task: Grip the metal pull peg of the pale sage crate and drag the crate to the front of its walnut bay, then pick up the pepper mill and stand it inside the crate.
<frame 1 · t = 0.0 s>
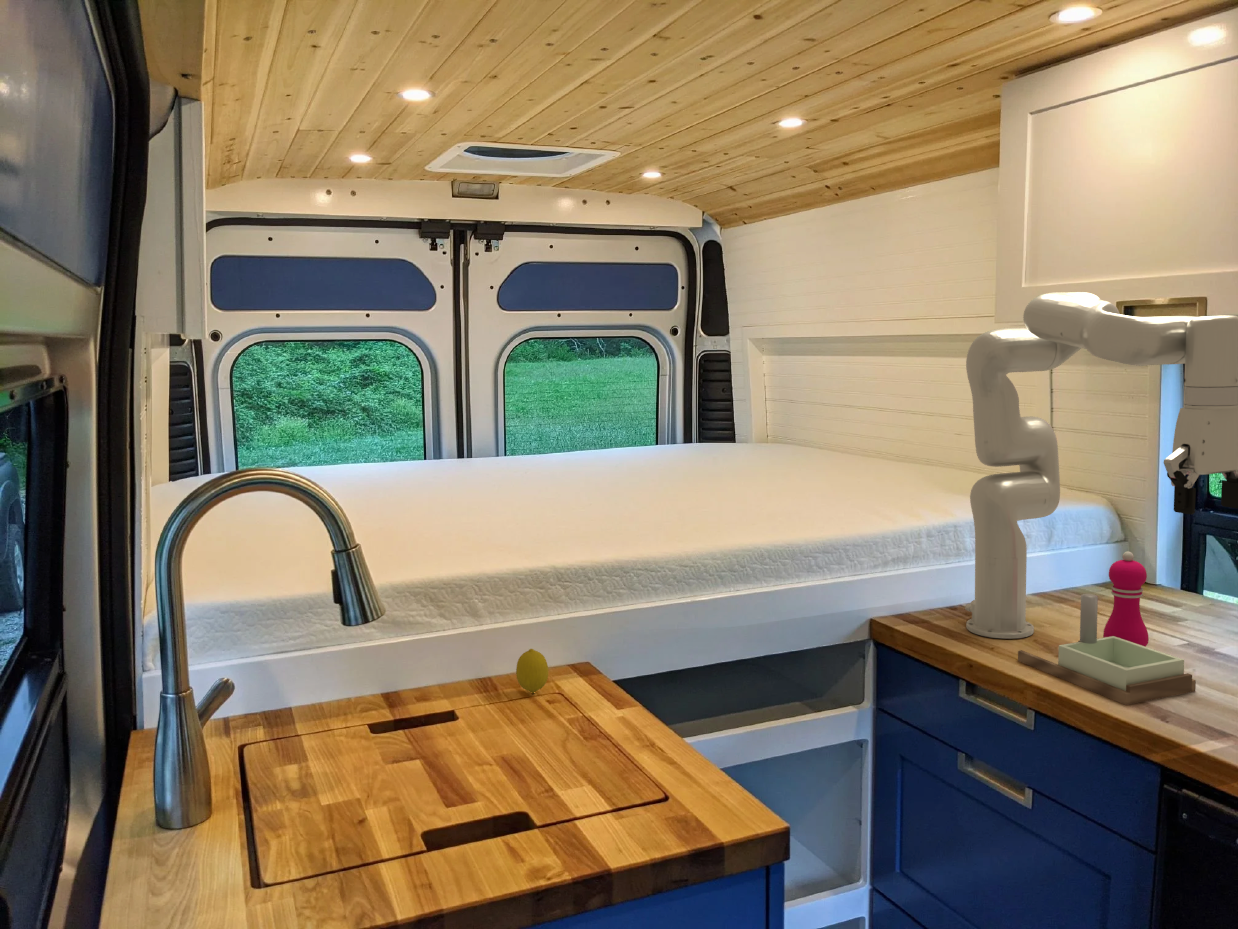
hand: (1208, 510, 148), 31 cm above the worktop, tool pointing down, fingers open, 9 cm apart
pepper mill: (1124, 661, 174), on the worktop
crate: (1117, 642, 160), point 8 cm above the worktop, slide at 8.0 cm
lemon: (533, 694, 168), on the worktop
bay: (1101, 681, 164), on the worktop
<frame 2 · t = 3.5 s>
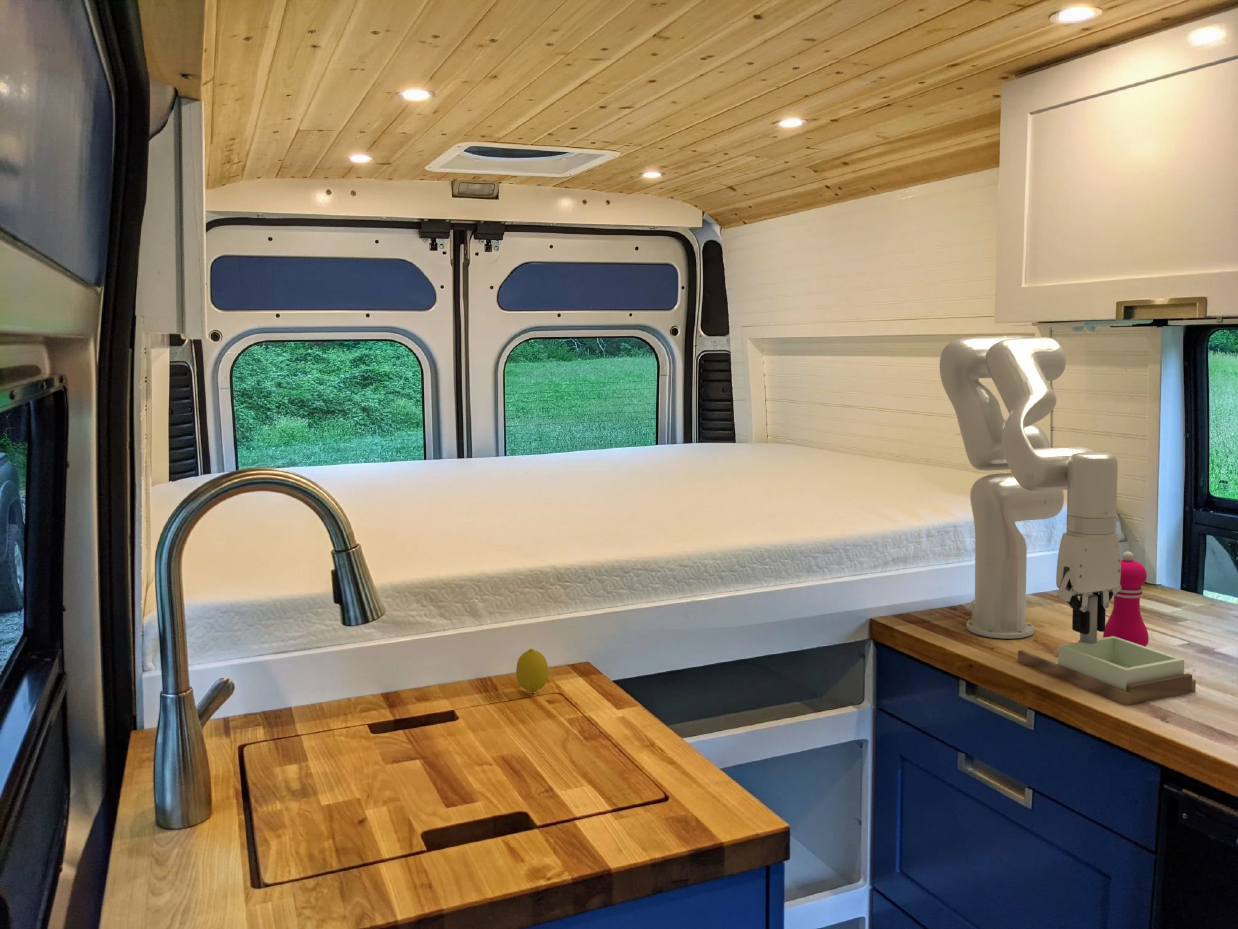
hand: (1088, 630, 166), 8 cm above the worktop, tool pointing down, fingers closed on crate, 2 cm apart
crate: (1117, 642, 160), point 8 cm above the worktop, slide at 8.0 cm, touching gripper
everything else where it was.
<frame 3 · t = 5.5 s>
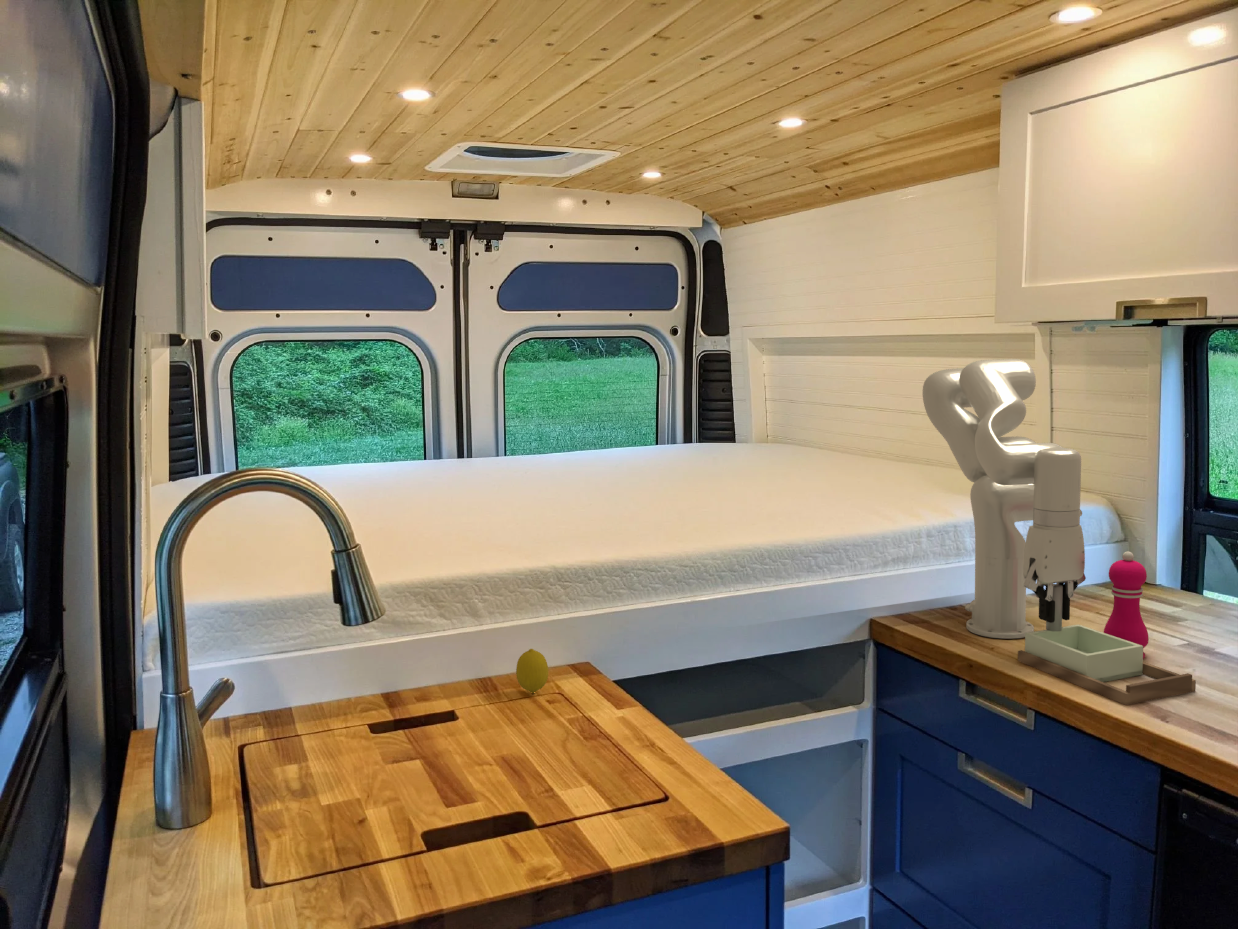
hand: (1054, 618, 173), 8 cm above the worktop, tool pointing down, fingers closed on crate, 2 cm apart
crate: (1080, 630, 167), point 8 cm above the worktop, slide at 0.2 cm, touching gripper
everything else where it was.
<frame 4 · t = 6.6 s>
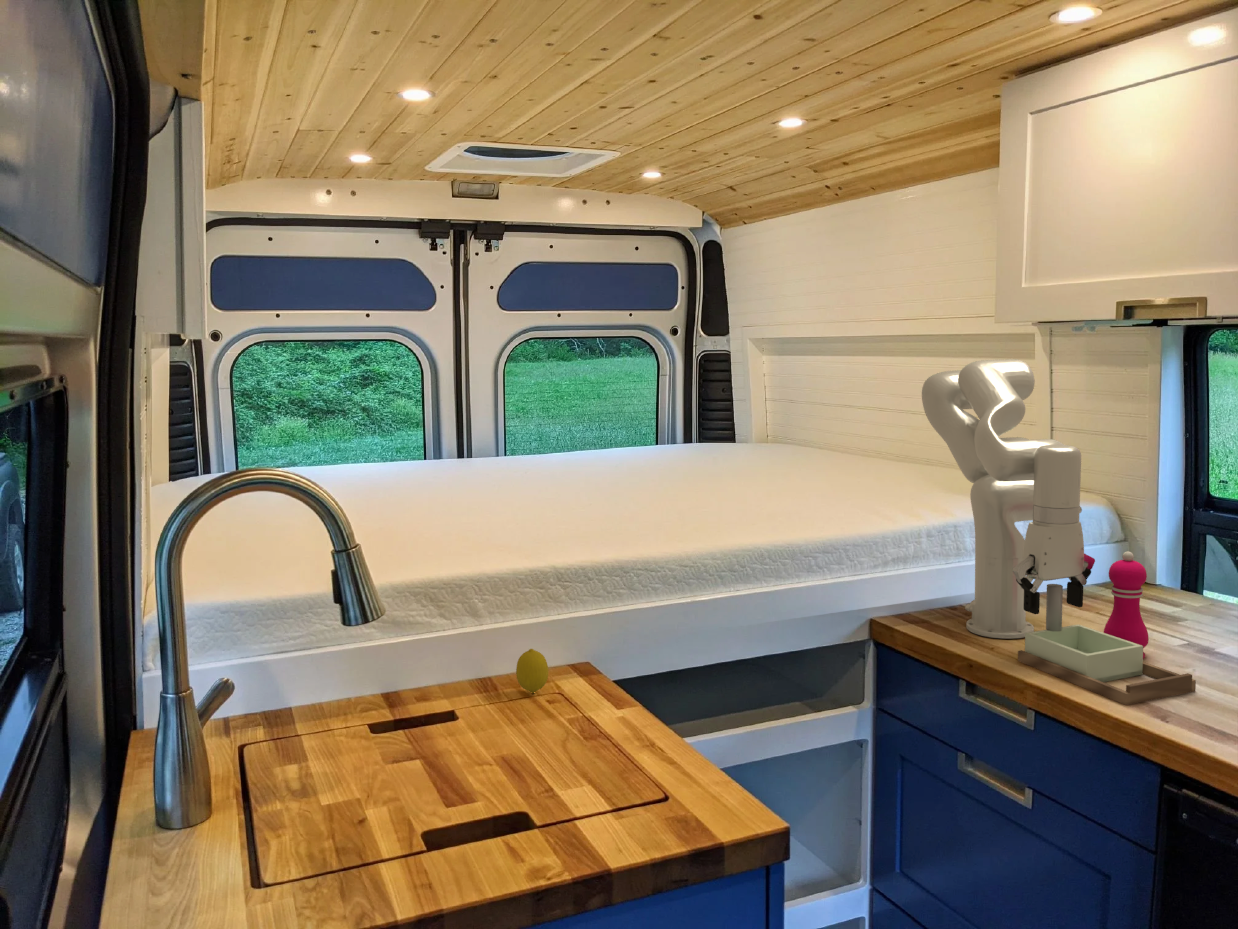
hand: (1053, 608, 173), 10 cm above the worktop, tool pointing down, fingers open, 9 cm apart
crate: (1080, 630, 167), point 8 cm above the worktop, slide at 0.2 cm
everything else where it was.
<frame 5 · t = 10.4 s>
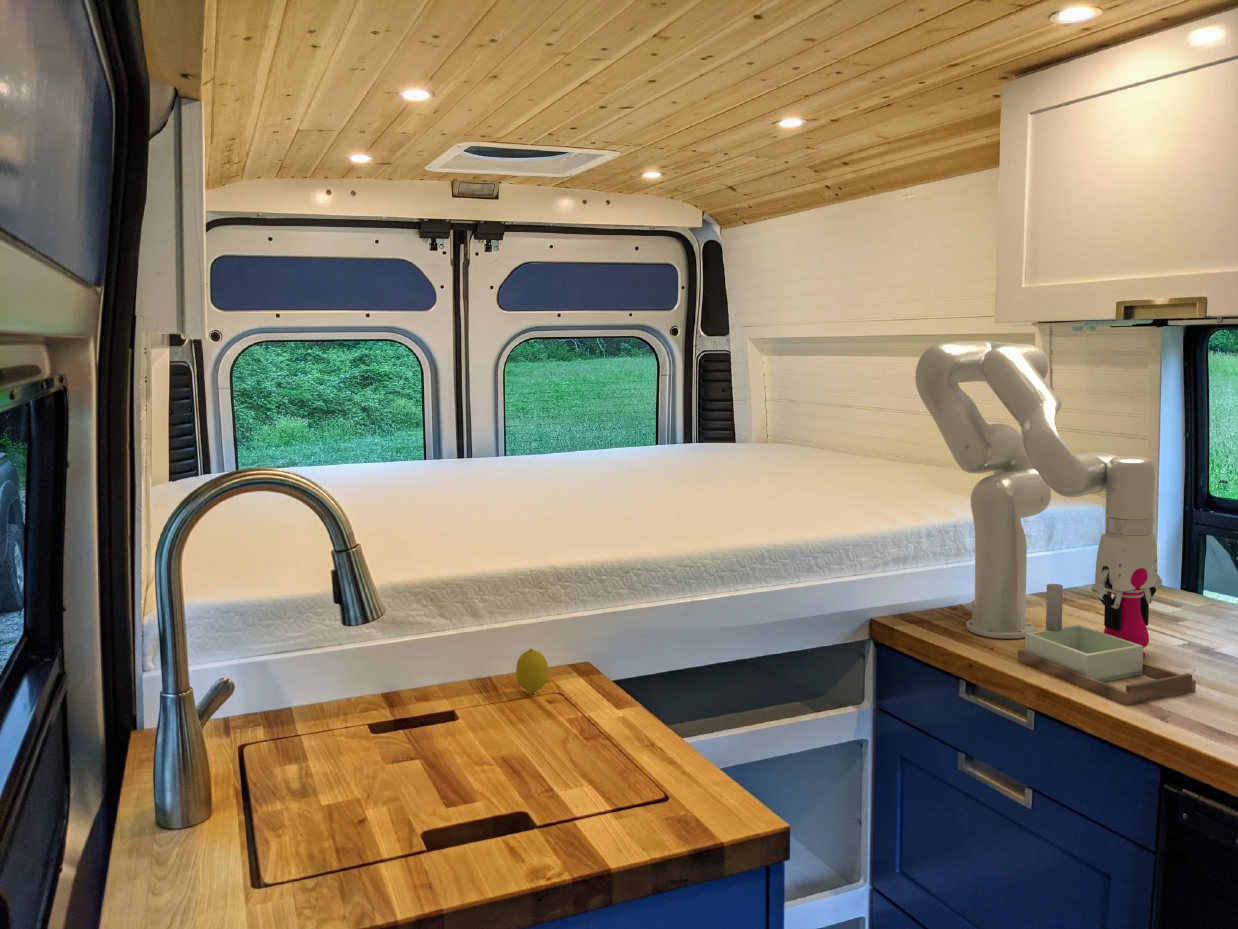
hand: (1126, 625, 173), 7 cm above the worktop, tool pointing down, fingers closed on pepper mill, 5 cm apart
pepper mill: (1125, 661, 174), on the worktop, touching gripper
everything else where it was.
when the fingers open (10 cm above the worktop, at t = 16.1 s): pepper mill drops 1 cm, resting on crate.
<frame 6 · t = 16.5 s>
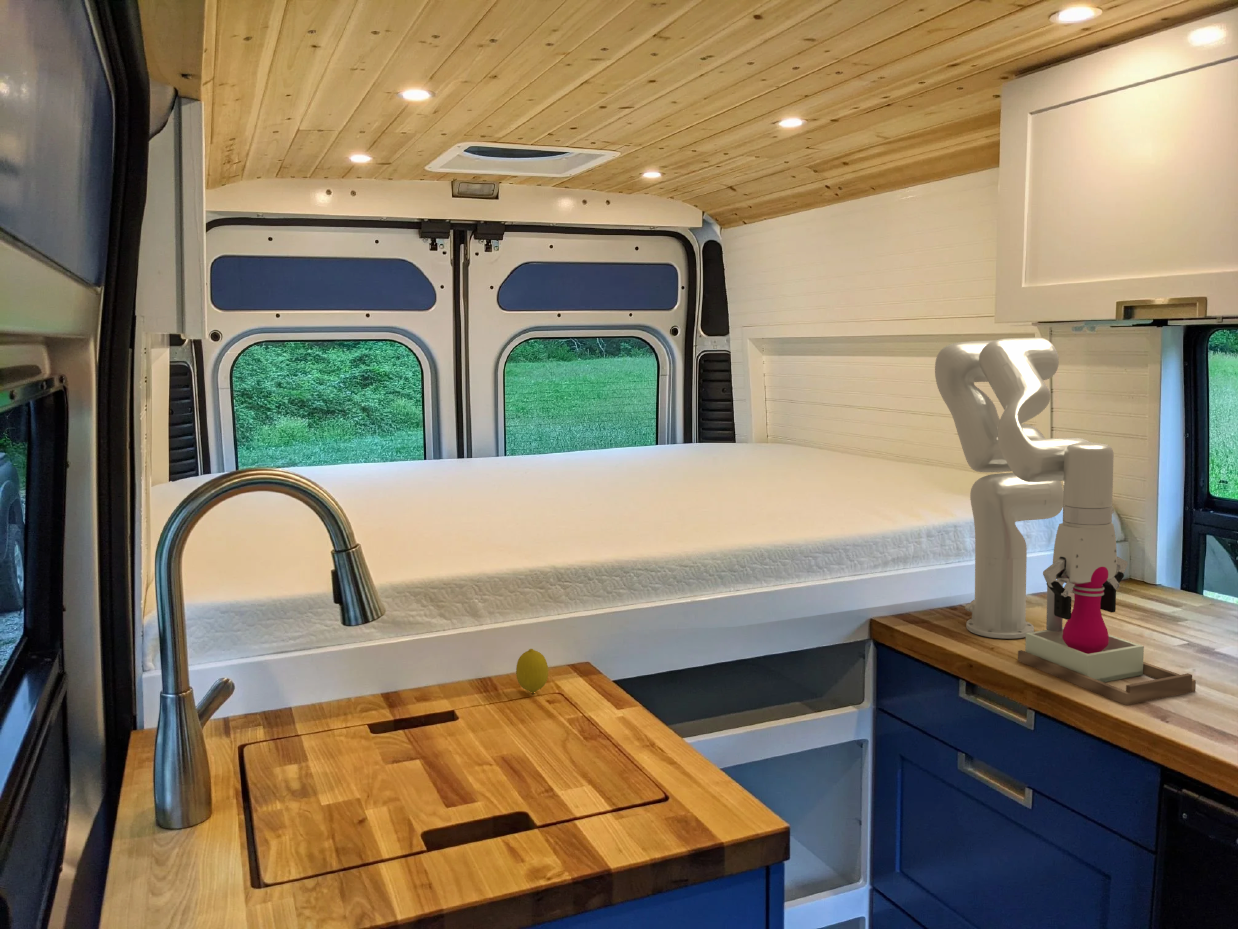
hand: (1084, 614, 166), 11 cm above the worktop, tool pointing down, fingers open, 9 cm apart
pepper mill: (1084, 663, 167), point 2 cm above the worktop, touching crate
crate: (1081, 630, 167), point 8 cm above the worktop, slide at 0.3 cm, touching pepper mill
everything else where it was.
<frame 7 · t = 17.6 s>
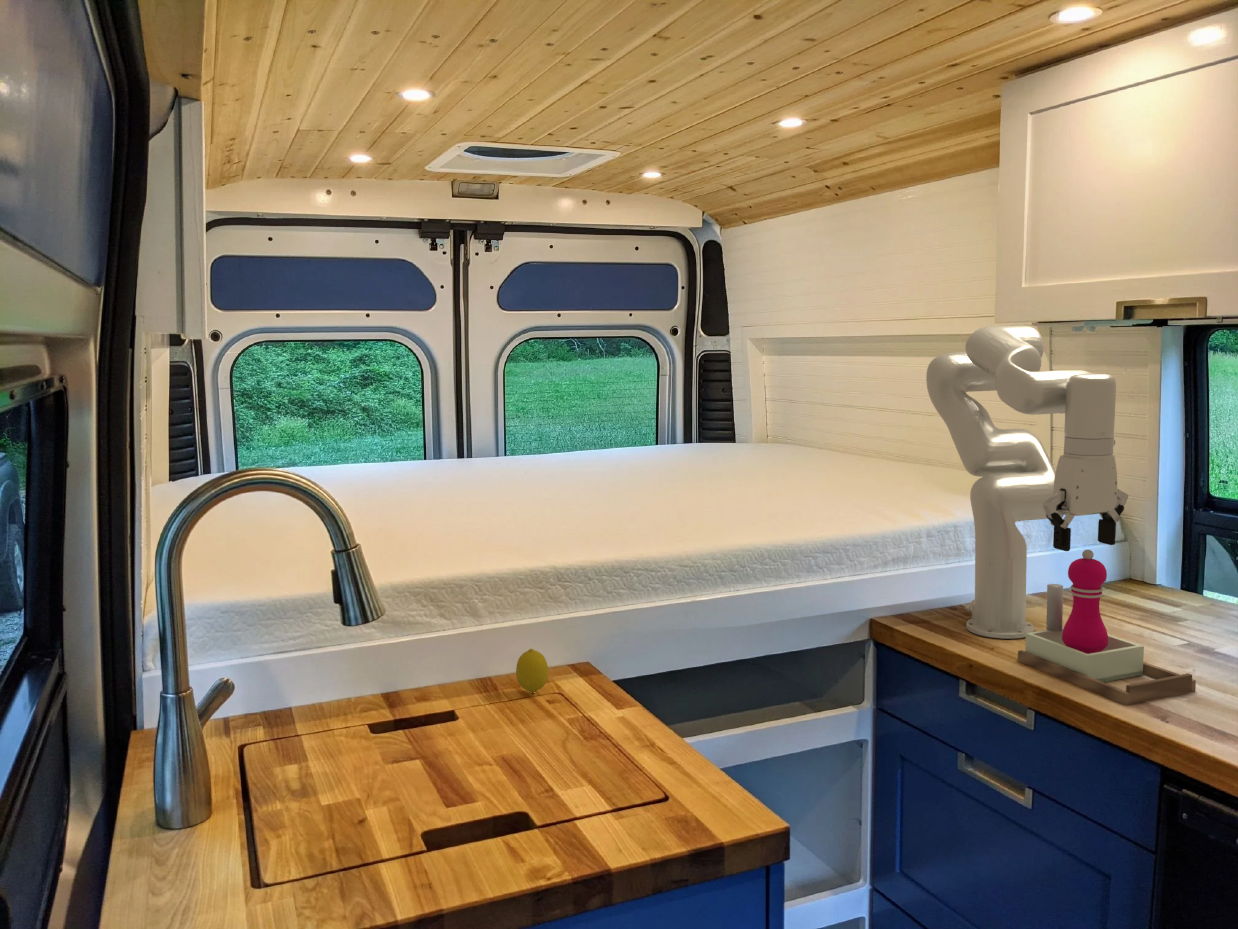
hand: (1084, 546, 165), 22 cm above the worktop, tool pointing down, fingers open, 9 cm apart
nothing on the worktop moved.
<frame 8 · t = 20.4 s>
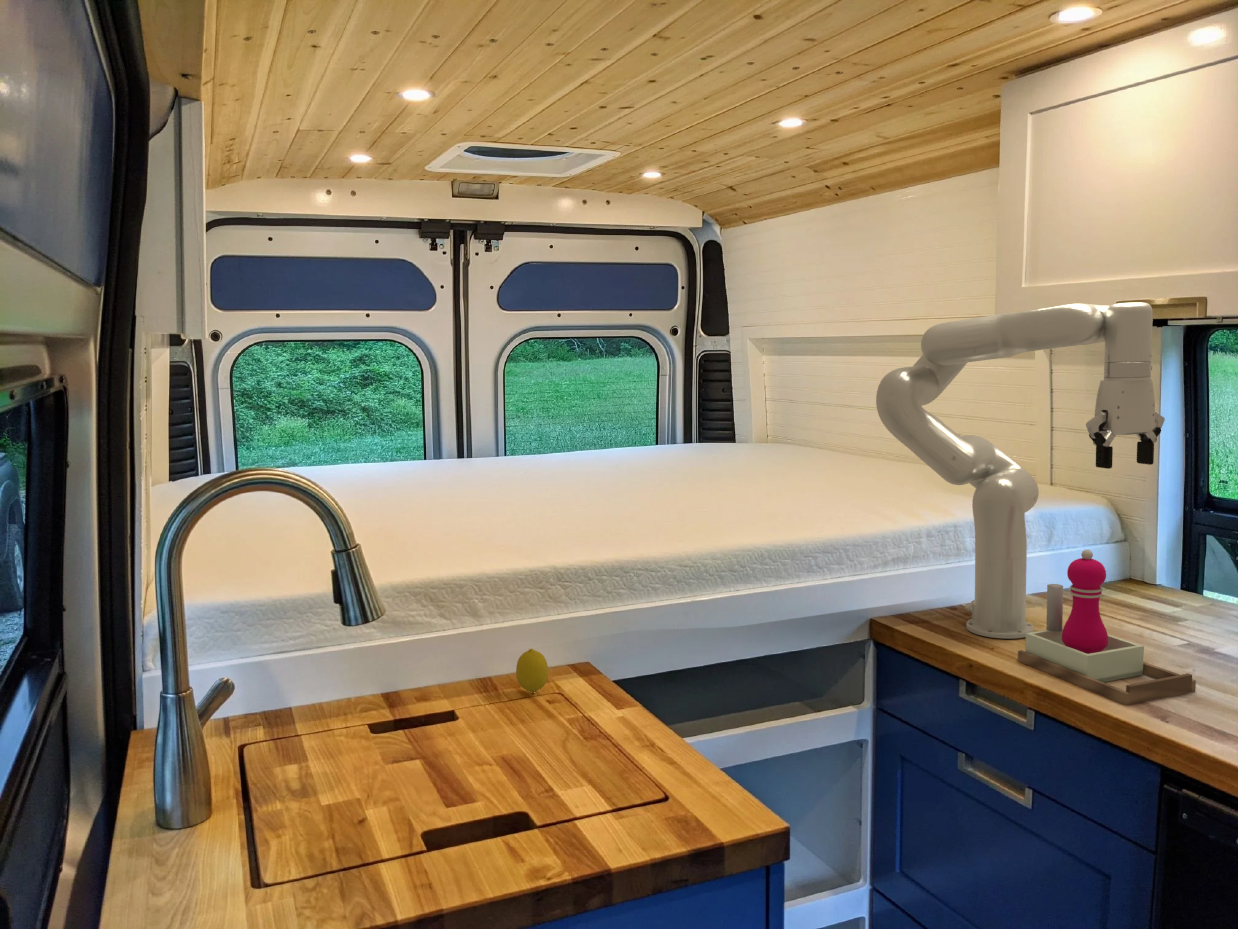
hand: (1124, 465, 177), 34 cm above the worktop, tool pointing down, fingers open, 9 cm apart
nothing on the worktop moved.
at the end: crate slide at 0.3 cm; pepper mill inside the target area on the crate (0.4 cm from its centre), point 0.6 cm above the crate's base; pepper mill tilted 0° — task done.
